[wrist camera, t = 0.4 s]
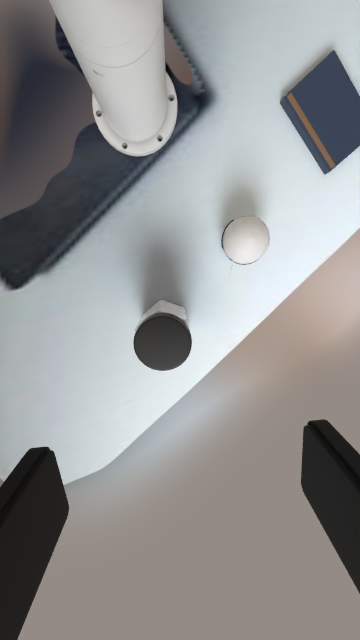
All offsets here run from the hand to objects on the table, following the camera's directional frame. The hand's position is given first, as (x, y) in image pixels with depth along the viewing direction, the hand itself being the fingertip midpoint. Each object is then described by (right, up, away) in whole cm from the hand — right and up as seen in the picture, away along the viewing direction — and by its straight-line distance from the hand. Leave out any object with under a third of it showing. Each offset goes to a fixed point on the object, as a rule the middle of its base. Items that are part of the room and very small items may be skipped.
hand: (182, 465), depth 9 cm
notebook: (+23, +37, +28) cm, 52 cm away
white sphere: (+9, +18, +33) cm, 39 cm away
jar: (-3, +5, +36) cm, 36 cm away
